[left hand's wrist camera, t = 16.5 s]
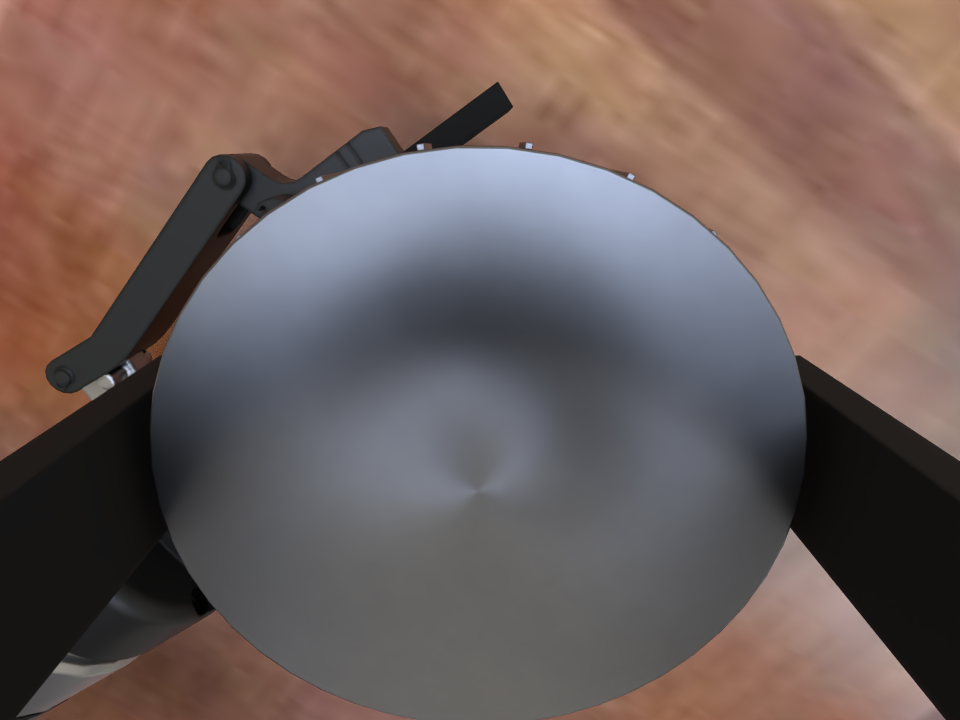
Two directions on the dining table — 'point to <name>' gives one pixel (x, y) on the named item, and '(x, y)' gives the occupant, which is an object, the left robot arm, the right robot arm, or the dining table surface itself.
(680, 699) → the dining table surface
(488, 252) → the lid
